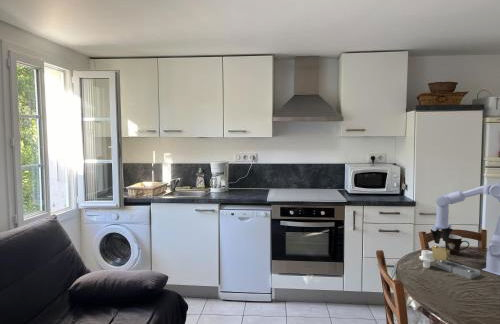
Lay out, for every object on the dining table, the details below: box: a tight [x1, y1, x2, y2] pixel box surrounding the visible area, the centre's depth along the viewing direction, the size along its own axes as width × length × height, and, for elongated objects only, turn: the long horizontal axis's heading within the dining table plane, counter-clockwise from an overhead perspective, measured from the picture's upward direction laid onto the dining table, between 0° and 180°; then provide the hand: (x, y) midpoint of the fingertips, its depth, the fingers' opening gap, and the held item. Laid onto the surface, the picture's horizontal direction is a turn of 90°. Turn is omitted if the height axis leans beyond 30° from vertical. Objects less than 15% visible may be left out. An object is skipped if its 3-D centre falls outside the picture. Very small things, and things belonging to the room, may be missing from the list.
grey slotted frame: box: [433, 259, 481, 280], centre depth 174 cm, size 18×8×3 cm, turn 31°
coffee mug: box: [444, 234, 470, 257], centre depth 198 cm, size 12×9×10 cm
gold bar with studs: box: [431, 245, 450, 261], centre depth 189 cm, size 8×3×7 cm, turn 31°
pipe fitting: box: [418, 249, 436, 269], centre depth 179 cm, size 6×7×8 cm
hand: (441, 242), depth 189 cm, fingers open, 7 cm apart
